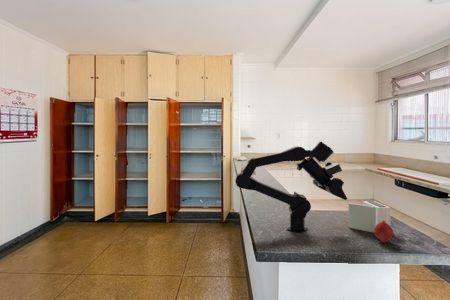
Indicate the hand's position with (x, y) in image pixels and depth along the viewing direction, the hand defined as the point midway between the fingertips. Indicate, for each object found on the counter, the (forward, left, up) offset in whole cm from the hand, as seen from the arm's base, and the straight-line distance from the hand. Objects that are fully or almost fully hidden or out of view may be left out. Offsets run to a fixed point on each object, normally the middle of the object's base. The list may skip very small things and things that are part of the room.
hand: (341, 196), depth 109 cm
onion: (-5, -16, -14) cm, 22 cm away
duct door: (+4, -7, -13) cm, 15 cm away
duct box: (+10, -11, -13) cm, 20 cm away
